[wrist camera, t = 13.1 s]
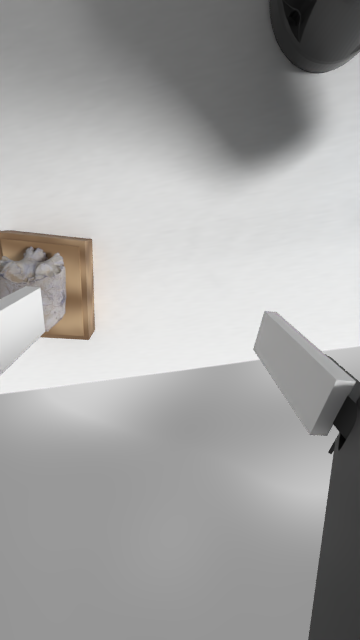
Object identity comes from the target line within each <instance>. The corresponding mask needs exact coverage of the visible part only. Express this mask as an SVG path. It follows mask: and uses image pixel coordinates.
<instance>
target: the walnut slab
mask: <svg viewBox="0 0 360 640" xmlns="http://www.w3.org/2000/svg"><path fill="white" fill-rule="evenodd" d="M30 247H33V249H34V250H36V249H37V248H41V249H42V250H43V252H45V253H46V257H48V258H47V259H50V258H51V257H53V256H54V254H56V253H58V252H59V254H60V256H62V257H63V262H64V267H65V269H66V304H65V314H64V316H63V318H62V319H61V320H60V321H59V322H58V323H57V324H56V325H54V326H53V327H52V328H51V329H50V330H49V331H48V332H47V331H45V332H44V333H43V334H42V335H41V336H40V337H48V338H65V339H83V340H89V339H90V337H91V335H92V334H93V332H94V330H95V321H94V288H93V255H92V239H85V238H76V237H67V236H57V235H48V234H39V233H30V232H20V231H0V260H1V259H2V257H3V256H6V257H8V258H9V259H11V260H13V261H20V260H22V259H23V258H24V257H23V254H24V253H26V250H27V249H28V248H30Z"/></svg>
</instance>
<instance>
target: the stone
mask: <svg viewBox="0 0 360 640" xmlns="http://www.w3.org/2000/svg"><path fill="white" fill-rule="evenodd" d="M23 257H24V258H23V259H22V260H20V261H13V260H11V259H9V258H8V257H6V256H3V257H2V259H1V260H0V299H2V298H3V297H5V296H7V295H9V294H11V293H13V292H15V291H17V290H19V289H21V288H23V287H25V286H30V287H39V288H41V297H42V306H43V315H44V324H45V331H47V332H48V331H49V330H50V329H51V328H52V327H53V326H54V325H56V324H57V323H58V322H59V321H60V320H61V319H62V318H63V316H64V314H65V304H66V269H65V267H64V262H63V257H62V256H60V254H59V252H58V253H56V254H54V256H53V257H51V258H50V259H47V258H48V257H46V253H45V252H43V250H42V249H41V248H37V249H36V250H34V249H33V247H30V248H28V249H27V250H26V253H24V254H23Z"/></svg>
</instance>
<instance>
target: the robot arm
mask: <svg viewBox="0 0 360 640" xmlns="http://www.w3.org/2000/svg"><path fill="white" fill-rule="evenodd" d="M270 15H271V21H272V26H273V30H274V33H275V36H276V39H277V41H278V43H279V45H280V47H281V49H282V51H283V52H284V54H285V55H286V56H287V58H288V59H289V60H290V61H291V62H292V63H294V64H295V65H296V66H298V67H299V68H301V69H303V70H306V71H309V72H316V73H320V72H327V71H331V70H334V69H336V68H338V67H340V66H342V65H344V64H345V63H347V62H348V61H349V60H351V59H352V58H353V57H354V56H355V55H357V54H358V53H359V52H360V0H270ZM44 332H45V324H44V315H43V306H42V297H41V288H39V287H30V286H25V287H23V288H21V289H19V290H17V291H15V292H13V293H11V294H9V295H7V296H5V297H3V298H2V299H0V375H1V374H2V373H3V372H4V371H5V370H6V369H7V368H8V367H10V366H11V365H12V364H13V363H14V362H15V361H16V360H17V359H18V358H19V357H20V356H21V355H22V354H23V353H24V352H25V351H26V350H27V349H28V348H29V347H30V346H31V345H32V344H33V343H34V342H35V341H36V340H37V339H38V338H39V337H40V336H41V335H42V334H43V333H44ZM253 350H254V351H255V353H256V354H257V356H258V357H259V359H260V360H261V362H262V363H263V365H264V366H265V368H266V369H267V371H268V372H269V374H270V375H271V377H272V378H273V380H274V381H275V383H276V385H277V386H278V388H279V389H280V391H281V392H282V394H283V395H284V397H285V398H286V399H287V401H288V403H289V404H290V406H291V407H292V409H293V410H294V412H295V413H296V415H297V416H298V418H299V419H300V421H301V422H302V424H303V426H304V427H305V429H306V430H307V432H308V433H309V434H310V435H324V436H327V435H328V433H329V431H330V429H331V427H332V425H333V424H334V426H336V428H337V429H338V430H339V435H338V436H337V438H336V440H335V442H334V443H333V445H332V447H331V448H330V450H329V453H330V454H332V452H333V451H334V455H333V463H332V470H331V477H330V485H329V492H328V499H327V506H326V514H325V522H324V528H323V536H322V544H321V551H320V558H319V565H318V573H317V580H316V588H315V595H314V602H313V610H312V617H311V625H310V632H309V639H308V640H360V382H359V381H358V380H357V379H355V378H354V377H353V376H352V375H351V374H349V373H348V372H347V371H345V369H344V368H343V367H341V366H339V365H338V363H337V362H336V361H334V360H333V359H332V358H331V357H329V356H327V355H325V354H324V353H323V352H322V351H320V350H319V349H318V348H317V347H316V346H315V345H314V344H312V343H311V342H310V341H309V340H308V339H307V338H306V337H304V336H303V335H302V334H301V333H300V332H299V331H297V330H296V329H295V328H294V327H293V326H292V325H291V324H289V323H288V322H287V321H286V320H285V319H284V318H283V317H281V316H280V315H279V314H278V313H277V312H270V311H265V312H264V315H263V318H262V322H261V325H260V328H259V332H258V335H257V338H256V342H255V345H254V349H253Z"/></svg>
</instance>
